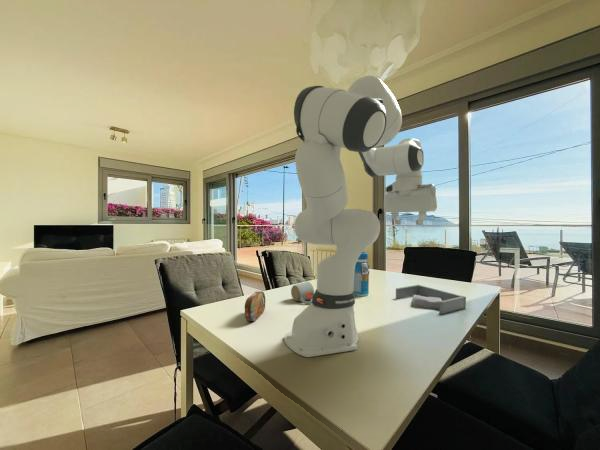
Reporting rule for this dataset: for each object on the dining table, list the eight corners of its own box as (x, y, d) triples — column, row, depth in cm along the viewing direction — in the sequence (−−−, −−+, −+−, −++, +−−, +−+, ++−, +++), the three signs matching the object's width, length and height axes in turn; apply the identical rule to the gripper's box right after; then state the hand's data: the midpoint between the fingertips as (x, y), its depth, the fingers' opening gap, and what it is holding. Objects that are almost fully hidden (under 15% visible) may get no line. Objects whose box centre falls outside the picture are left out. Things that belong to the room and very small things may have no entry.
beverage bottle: (349, 295, 124) (350, 253, 124) (352, 290, 132) (352, 251, 132) (368, 297, 121) (368, 254, 121) (369, 292, 129) (370, 251, 129)
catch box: (442, 314, 101) (442, 302, 100) (395, 298, 120) (395, 288, 120) (465, 307, 108) (465, 296, 108) (418, 293, 127) (418, 284, 127)
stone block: (410, 304, 118) (412, 307, 108) (411, 293, 118) (412, 295, 109) (440, 308, 114) (444, 311, 104) (440, 297, 114) (445, 299, 105)
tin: (251, 325, 89) (251, 300, 89) (242, 324, 90) (242, 299, 89) (266, 310, 104) (266, 288, 104) (258, 309, 104) (258, 288, 104)
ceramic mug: (289, 299, 118) (290, 282, 118) (305, 296, 122) (305, 280, 122) (302, 306, 109) (303, 288, 109) (318, 303, 113) (319, 285, 113)
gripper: (441, 183, 87) (440, 225, 87) (392, 189, 105) (392, 224, 105) (429, 182, 84) (428, 225, 84) (381, 188, 102) (380, 224, 102)
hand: (408, 224), depth 95 cm, fingers open, 8 cm apart
